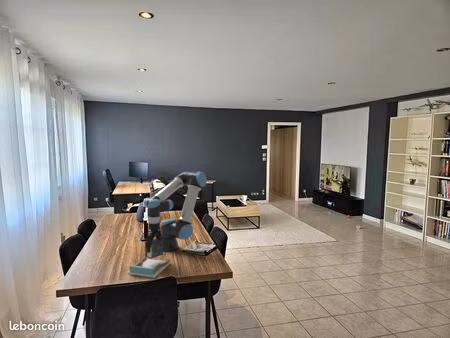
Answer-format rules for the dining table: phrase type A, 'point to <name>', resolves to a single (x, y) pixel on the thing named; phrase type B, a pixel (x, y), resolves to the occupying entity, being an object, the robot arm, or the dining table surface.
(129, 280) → the dining table surface
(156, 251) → the small box
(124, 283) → the dining table surface
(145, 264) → the light blue shallow tray
